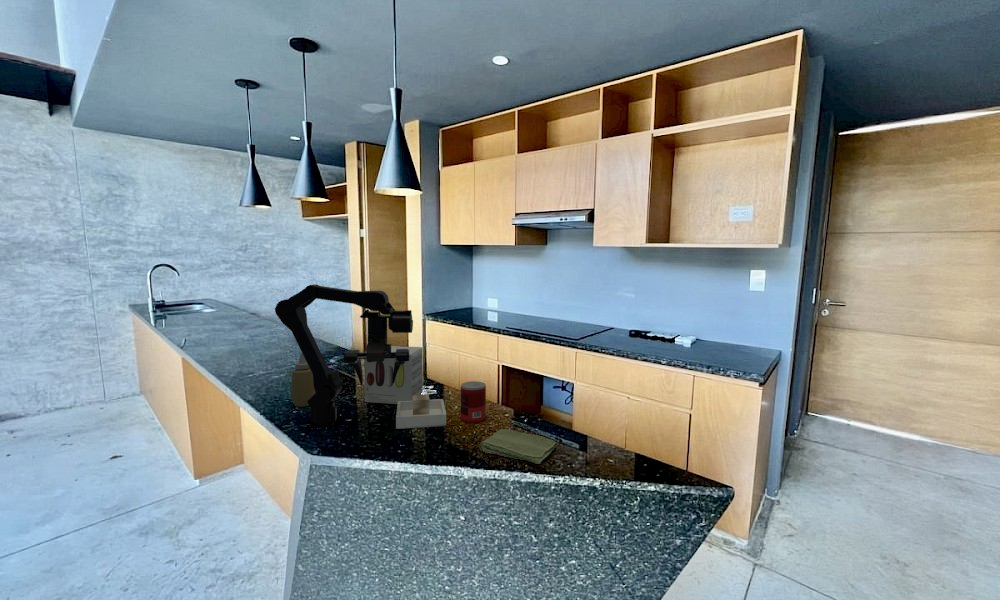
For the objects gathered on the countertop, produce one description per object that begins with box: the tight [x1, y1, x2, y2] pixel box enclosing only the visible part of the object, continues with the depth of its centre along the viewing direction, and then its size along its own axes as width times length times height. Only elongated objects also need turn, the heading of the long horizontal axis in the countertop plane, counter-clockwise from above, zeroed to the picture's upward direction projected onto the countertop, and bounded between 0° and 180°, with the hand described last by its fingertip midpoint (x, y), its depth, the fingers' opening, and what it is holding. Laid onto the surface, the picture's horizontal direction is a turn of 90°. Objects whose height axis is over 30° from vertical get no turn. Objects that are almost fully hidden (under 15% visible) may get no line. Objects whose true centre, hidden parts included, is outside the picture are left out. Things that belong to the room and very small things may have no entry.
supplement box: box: [364, 345, 424, 405], centre depth 147 cm, size 17×13×18 cm
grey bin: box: [395, 398, 447, 430], centre depth 128 cm, size 15×15×4 cm
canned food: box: [460, 380, 487, 424], centre depth 128 cm, size 8×8×11 cm
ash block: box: [413, 394, 430, 415], centre depth 128 cm, size 5×5×6 cm
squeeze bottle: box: [290, 352, 315, 408], centre depth 139 cm, size 8×8×18 cm
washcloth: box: [478, 428, 558, 464], centre depth 107 cm, size 13×18×3 cm
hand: (377, 383), depth 124 cm, fingers open, 9 cm apart
